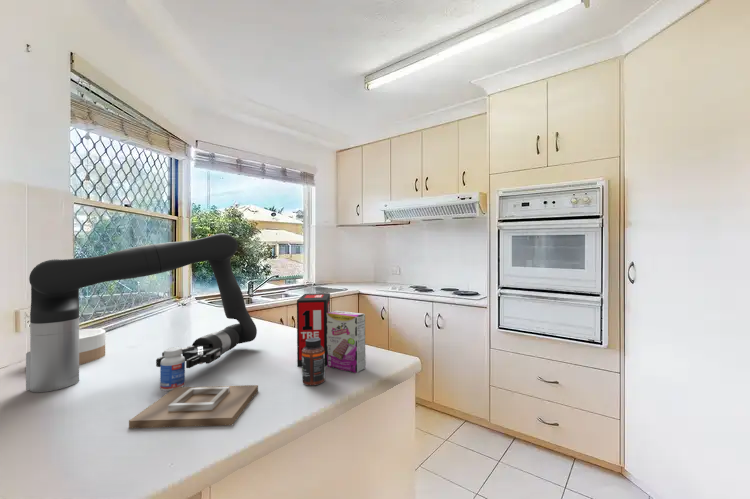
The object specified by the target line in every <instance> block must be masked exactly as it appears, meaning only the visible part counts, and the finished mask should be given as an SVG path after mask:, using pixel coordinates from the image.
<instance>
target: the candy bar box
mask: <svg viewBox="0 0 750 499" xmlns="http://www.w3.org/2000/svg"><path fill="white" fill-rule="evenodd" d="M326 367H327V368H332V369H337V370H340V371H345V372H349V373H355V374H359V373H360V372H362V371H364V370H365V369H366V314H365V313H361V312H351V311H345V310H336V309H335V310H333V311H331V310H330V312H328V313H327V366H326Z"/></svg>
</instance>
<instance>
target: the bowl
mask: <svg viewBox="0 0 750 499" xmlns="http://www.w3.org/2000/svg"><path fill="white" fill-rule="evenodd" d="M105 356H106V329H102V328H85V329H84V328H83V329H79V366H80V365H83V364H88V363H91V362H93V361H94V362H95V361H97V360H99V359H101V358H103V357H105Z"/></svg>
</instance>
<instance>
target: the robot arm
mask: <svg viewBox="0 0 750 499" xmlns="http://www.w3.org/2000/svg"><path fill="white" fill-rule="evenodd" d="M238 247H239V246H238V241H237V239H236V238H235V237H233V236H232V235H230V234H227V233H224V232H223V233H222V232H221V233H217V234H213V235H210V236H206V237H202V238H198V239H192V240H183V241H182V240H181V241H171V242H170V241H169V242H161V243H151V244H145V245H139V246H133V247H128V248H125V249H121V250H118V251H113V252H110V253H107V254H102V255H98V256H91V257H90V256H89V257H80V258H67V259H58V258H57V259H55V258H54V259H49V260H44V261H42V262H40V263H39V264H36V265H35V267H33V268H32V270H31V271H30V274H29V278H28V280H29V283H30V313H29V317H30V318H29V322H30V323H29V324H30V325H29V336H30V337H29V338H30V340H29V343H30V344H29V351H27V352H26V353H25V391H30V392H32V393H45V392H51V391H52V392H53V391H56V390H60V389H64V388H67V387H70V386H73V385H75V384H77V383H78V382H79V381H80V365H79V330H80V289H82V288H86V287H90V286H94V285H97V284H101V283H105V282H114V281H121V280H122V281H123V280H129V279H138V278H143V277H149V276H153V275H158V274H163V273H167V272H170V271H173V270H177V269H181V268H183V267H185V266H188V265H192V264H196V263H200V262H207V261H208V263H209V265H210V267H211V270H212V273H213V276H214V278H215V281H216V284H217V287H218V291H219V296H220V298H221V302H222V303H221V304H222V307H223V311H224V314H225V316H226V318H227V319H229V320H236V321H237V322H238V323H235V324H231V325H227V326H226V327H225V328H224V329H220V330H218V331H215V332H212V333H208V334H207V335H206V334H205V335H203V336H201V337H199V338H196V339H195V340H194V341H193V342H192V344H191V345H189V346H187V347H181V348H182V354H181V355H182V356H184V357H185V369H191V368H193V367H195V366H197V365H202V364H206V365H208V364H210V363H213V362H214V361H216V360H218V359H219V358H221V356H222V355H223V354H225V353H227V352H228V351H230V350H232V349H234V348H235V347H236V346H237V345H240V344H244V343H249V342H252V341H255V339H256V338H257V334H258V332H257V331H258V330H257V326H256V324H255V322H254V320H253V319H252V317H251V315H250V313H249V311H248V309H247V306H246V303H245V299H244V295H243V292H242V289H241V287H240V285H239V283H238V281H237V279H236V277H235V275H234V272H233V269H232V266H231V258H232V257H233V256H235V254H236V253H237V251H238ZM163 358H165V356H164V351H163V352H161V356H160V357H157V358H156V360H155V364H156V365H155V366H156V367H157V368H160V364H161V360H162V359H163Z"/></svg>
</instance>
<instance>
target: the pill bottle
mask: <svg viewBox="0 0 750 499" xmlns="http://www.w3.org/2000/svg"><path fill="white" fill-rule="evenodd" d="M182 348H183V347H181V346H176V347H169V348H165V349H164V350H163V352H164V356H165V358H163V359H162V360H161V364H160V367H159V369H160V370H159V372H160V373H159V374H160V375H159V376H160V378H159V381H160V382H159V386H160V387H159V388H160V390H161V391H164V392H170V391H171V390H173V389H174V388H175V387H185V383H186V382H185V380H186V376H185V375H186V361H185V357H184V356H183V354H182Z"/></svg>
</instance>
